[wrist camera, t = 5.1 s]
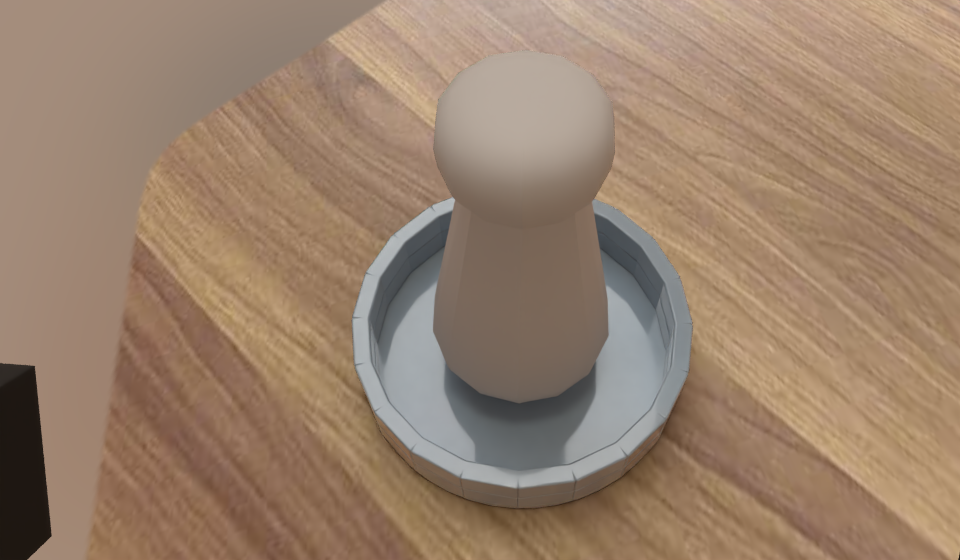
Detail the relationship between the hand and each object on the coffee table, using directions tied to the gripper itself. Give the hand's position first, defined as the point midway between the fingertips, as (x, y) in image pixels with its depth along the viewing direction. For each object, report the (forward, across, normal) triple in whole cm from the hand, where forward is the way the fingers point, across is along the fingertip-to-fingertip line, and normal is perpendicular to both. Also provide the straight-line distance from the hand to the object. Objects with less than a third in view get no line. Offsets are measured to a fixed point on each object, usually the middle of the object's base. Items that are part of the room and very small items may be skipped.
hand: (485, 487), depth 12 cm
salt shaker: (+18, 0, -4) cm, 19 cm away
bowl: (+18, 0, -5) cm, 19 cm away
